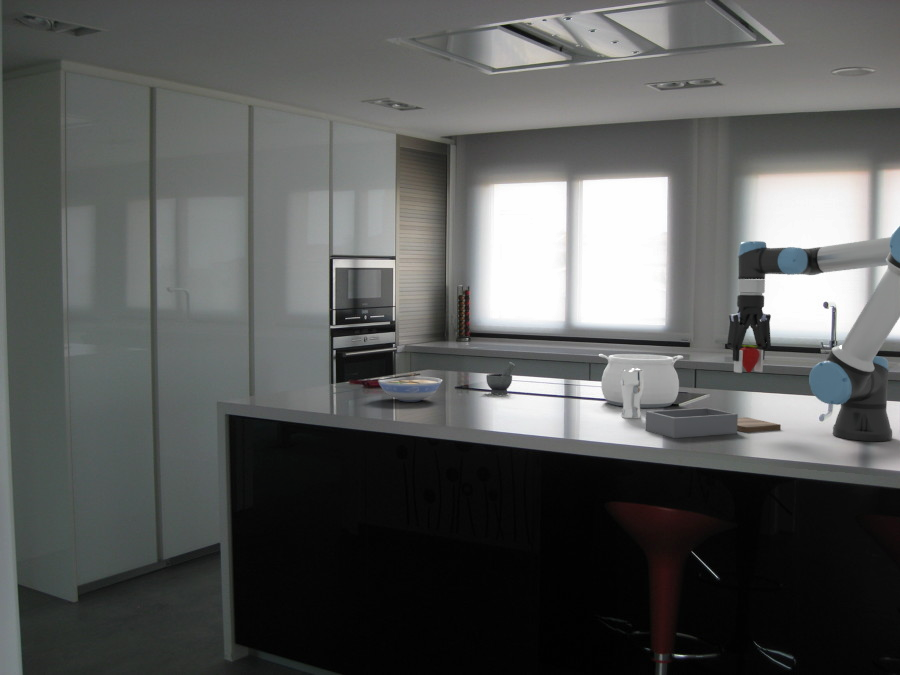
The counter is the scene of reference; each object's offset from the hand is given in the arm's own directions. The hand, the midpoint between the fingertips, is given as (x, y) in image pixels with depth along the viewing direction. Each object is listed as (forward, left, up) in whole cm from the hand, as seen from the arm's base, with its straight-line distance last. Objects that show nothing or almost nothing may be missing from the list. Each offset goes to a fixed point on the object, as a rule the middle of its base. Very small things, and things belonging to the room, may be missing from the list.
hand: (748, 371), depth 262 cm
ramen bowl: (+84, +75, -17) cm, 114 cm away
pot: (+51, +2, -17) cm, 54 cm away
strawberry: (0, 0, 0) cm, 0 cm away
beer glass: (+27, +22, -17) cm, 39 cm away
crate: (-1, +21, -17) cm, 27 cm away
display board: (0, 0, -17) cm, 17 cm away
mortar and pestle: (+91, +36, -17) cm, 99 cm away
